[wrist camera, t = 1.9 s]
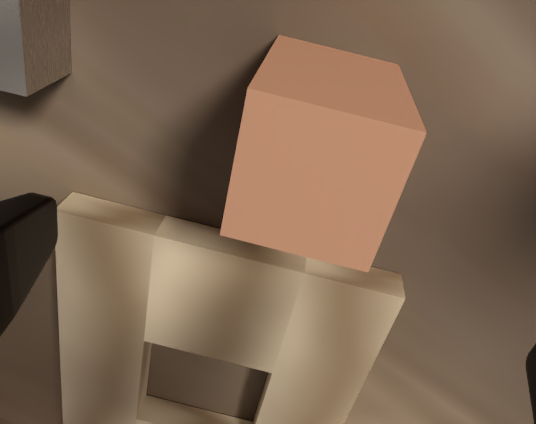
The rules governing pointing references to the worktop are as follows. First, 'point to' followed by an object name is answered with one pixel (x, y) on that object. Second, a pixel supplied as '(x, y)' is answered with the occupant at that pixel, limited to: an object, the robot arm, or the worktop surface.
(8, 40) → the short peg
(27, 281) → the robot arm
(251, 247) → the hole board
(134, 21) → the worktop surface
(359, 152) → the tall peg
